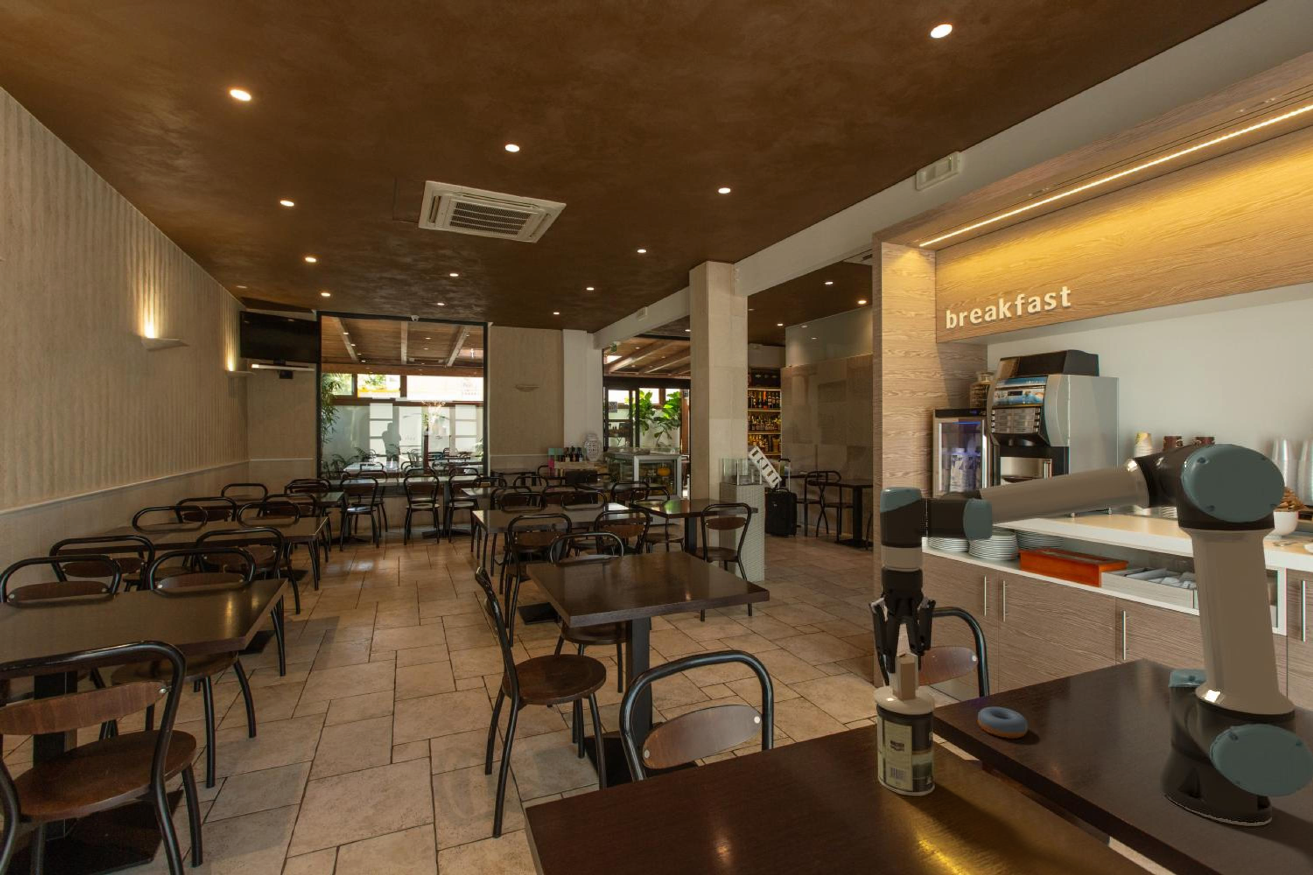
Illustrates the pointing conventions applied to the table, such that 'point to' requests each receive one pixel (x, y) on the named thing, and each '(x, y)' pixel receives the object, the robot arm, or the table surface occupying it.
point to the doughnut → (1002, 722)
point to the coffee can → (905, 752)
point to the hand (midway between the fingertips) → (903, 687)
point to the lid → (905, 694)
